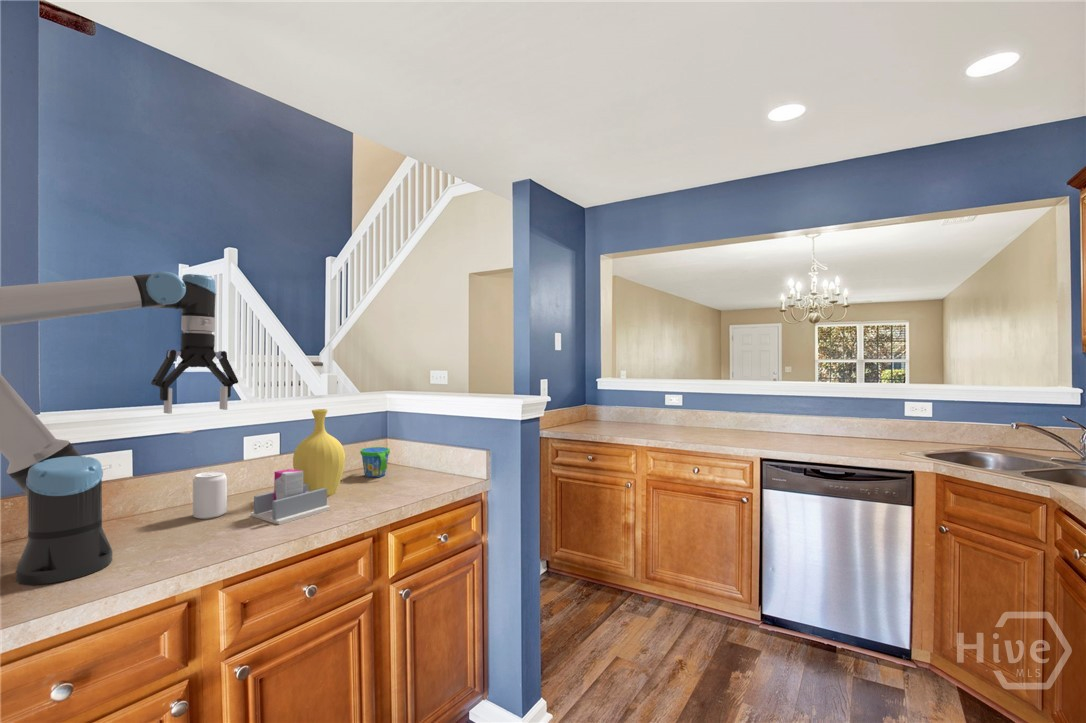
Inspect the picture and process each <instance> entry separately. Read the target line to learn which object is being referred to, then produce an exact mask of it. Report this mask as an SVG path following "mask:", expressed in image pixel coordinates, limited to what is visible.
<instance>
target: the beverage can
mask: <svg viewBox="0 0 1086 723" xmlns="http://www.w3.org/2000/svg"><path fill="white" fill-rule="evenodd" d="M227 482H228V481H227V475H226V474H225V471H221V470H220V471H219V470H212V471H210V470H209V471H205V472H204V471H203V472H199V473H197V474H195V475H194V478H193V479H192V517H194V518H196V519H200V520H209V519H214V518H218V517H221V516H223V515H224V514H226V513H227V511H228V509H227V508H228V506H227V504H228V501H227V500H228V499H227V497H228V496H227V494H228V492H227V490H228V489H227V486H228V485H227V484H228V483H227Z"/></svg>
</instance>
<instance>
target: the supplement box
mask: <svg viewBox="0 0 1086 723" xmlns="http://www.w3.org/2000/svg"><path fill="white" fill-rule="evenodd" d="M273 476H274V478H273V479H274V483H273V485H274V488H273V489H274V490H273V491H274V501H275V500H279V499H282V498H286V497H290V496H294V495H298V494H302V493H303V471H301V470H296V469H294V468H289V469H288V468H287V469H284V470H282V469H281V470H277V471H274V475H273Z"/></svg>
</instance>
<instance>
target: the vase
mask: <svg viewBox="0 0 1086 723" xmlns="http://www.w3.org/2000/svg"><path fill="white" fill-rule="evenodd" d="M311 414H312V415H313V418H314V429H313V432H312V433H311V434H310V435H308V436H307V437H305V438H304V439H303V440H302V441H300V443H299V444H297V446H296V447H295V450H294V452H293V457H292V467H293V468H292V469H296V470H301V471H303V484H308V491H314V490H318V489H322V488H325V489H327V497H331V496H333V495H335V494H336V493H337V491H338V488H339V486H340V483H341V479H342V476H343V474H344V473H343V472H344V469H345V464H346V452H345V450H344V446H343V444H342V443H341V442H340V441H339V440H338V439H337V438H336V437H334V436H333V435H331V434H329V433H328V432H327V430H326V428H325V418H326V415H327V414H328V409H327V408H326V409H325V408H317V409H312V410H311Z"/></svg>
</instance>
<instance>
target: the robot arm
mask: <svg viewBox="0 0 1086 723" xmlns="http://www.w3.org/2000/svg"><path fill="white" fill-rule="evenodd" d="M216 292H217V290H216V281H215V278H214V277H212V276H208V275H205V274H195V273H194V274H193V273H187V274H183V275H182V277H180V276H179V275H178V274H176V273H174V272H170V271H155V272H154V273H146V274H137V275H136V274H135V275H122V276H121V275H120V276H110V277H109V276H108V277H99V278H98V277H97V278H88V279H74V280H64V281H52V282H51V281H50V282H40V283H29V284H17V285H16V284H15V285H6V286H5V285H4V286H0V326H6V325H7V326H8V325H14V324H16V325H17V324H22V323H31V322H38V321H39V322H40V321H45V320H46V321H47V320H54V319H61V318H69V317H77V316H84V315H85V316H86V315H93V314H102V313H109V312H119V311H124V310H134V309H140V308H155V309H173V310H181V324H180V326H181V328H180V330H181V331H182V334H181V333H180V334H181V335H180V347H181V348H180V350H175V349H168V350H167V351H166V355H165V359H164V361H163V362H162V364H161V366H160V367H159V369H158V370H157V372H156V374H155V376H154V377H153V379H152V381H151V382H150V383H151V385H152V386H154V387H158V388H159V399H160V401H163V413H164V414H172V413H173V388H172V387H170V386H171V385H172V384H173V383H174V382H175V381H176V380H177V379H178V378H179V377H180V376H181V375H182V374H183V373H184V371H186V370H187V369H189V368H198V367H199V368H207V369H208V370H209V371H210V372H211V373H212V374H213V375H214V377H215V378H217V380H218V381H219V382H220V383H221V384H222V385H220V386H219V410H222V411H225V410H228V400H229V398H230V397H231V394H232V393H231V391H232V388H231V387H232V386H234V385H236V384H238V383H239V379H238V378H237V375H236V373H235V371H234V370H233V367H232V365H231V364H230V361H229V360H228V353H227V351H225V350H219V351H215V344H216V343H215V342H216V341H215V336H216V335H214V334H213V333H214V332H216V331H215V330H216V317H215V316H216V297H217V296H216V295H217V293H216ZM178 357H179V358H181V361H180V362H179V363H178V364H177V366H176V367H175V368H174V369H173V370H172V371H171V372H170V373H169V371H170V369H171V368H172V366H173V364H174V363H175V361H176V359H178ZM215 357H216V359H217V360H218V361H219V364H220V365H221V368H222V369H223V371H222V370H221V369H220V368H219V366H217V364H216V363H215V362H214V361H213V360H214V358H215ZM223 372H224V373H223ZM168 373H169V374H168ZM167 374H168V375H167ZM0 453H1V454H2V455H3V456H4V457H5V459H6V460H7V461H8V463H9V464H8V466H7V469H6V473H7V474H8V475H9V477H10V478H11V479H12V480H13V481H14V482H15V483H16V484H17V485H18V486H19V487H20V488H21V490H23V492H24V493H25V495H26V497H27V498H26V499H27V542H26V544H25V547H24V550H23V552H22V554H21V556H20V559H19V561H18V563H17V566H16V568H15V580H16V583H18V584H22V585H29V586H30V585H32V586H33V585H47V584H48V585H49V584H54V583H59V582H65V581H69V580H74V579H78V578H82V577H83V576H87V575H90V574H93V573H95V572H98V571H101V570H103V569H104V568H107V566H109V565H110V564H111V563H112V562H113V549H112V547H111V544H110V542H109V541H108V540H109V539H108V538H107V536H106V533H105V532H104V529H103V496H102V494H103V493H102V492H103V488H102V483H103V480H102V479H103V477H104V476H103V475H104V472H103V469H102V463H101V461H100V460H98V459H97V458H94V457H91V456H88V457H87V456H83V455H81V454H80V452H79V451H78V450H77V449H76V448H75V447H74V445H73V444H72V443H71V441H69V440H66V439H59V438H56V437H55V436H54V435H53V434H52V432H51V431H50V430H49V429H48V427H47V426H46V425H45V424H44V423H43V422H42V421H41V419H40V418H39V417H38V416H37V415H36V413H35V412H34V411H33V410H32V409H31V408H30V407H29V405H28V404H27V403H26V402H25V401H24V399H23V398H22V397H21V396H20V395H19V394H18V392H17V391H16V390H15V389H14V388H13V386H11V384H10V383H9V382H8V381H7V379H6V378H5V377H4V376H3V375H2V373H0Z"/></svg>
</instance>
